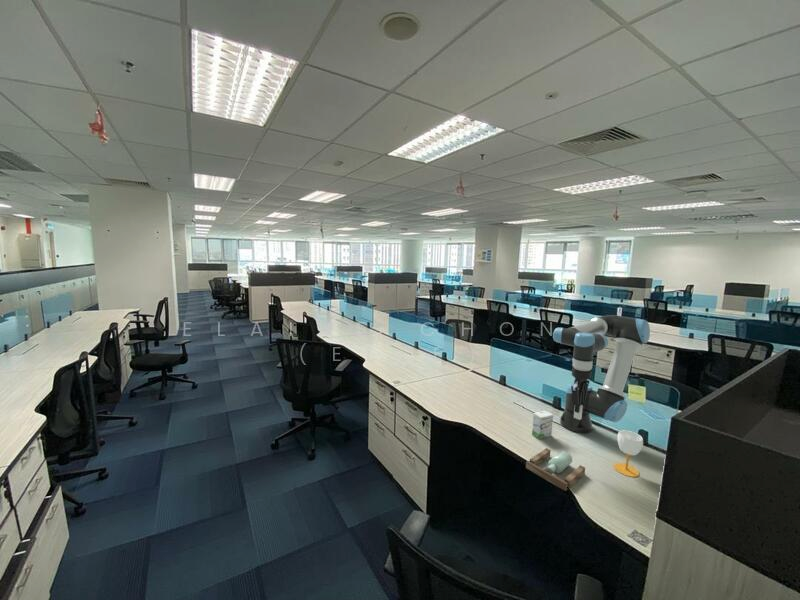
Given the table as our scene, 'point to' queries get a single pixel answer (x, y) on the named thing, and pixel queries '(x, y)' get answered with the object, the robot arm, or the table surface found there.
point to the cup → (628, 451)
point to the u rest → (548, 476)
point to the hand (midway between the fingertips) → (577, 418)
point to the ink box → (542, 424)
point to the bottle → (559, 462)
